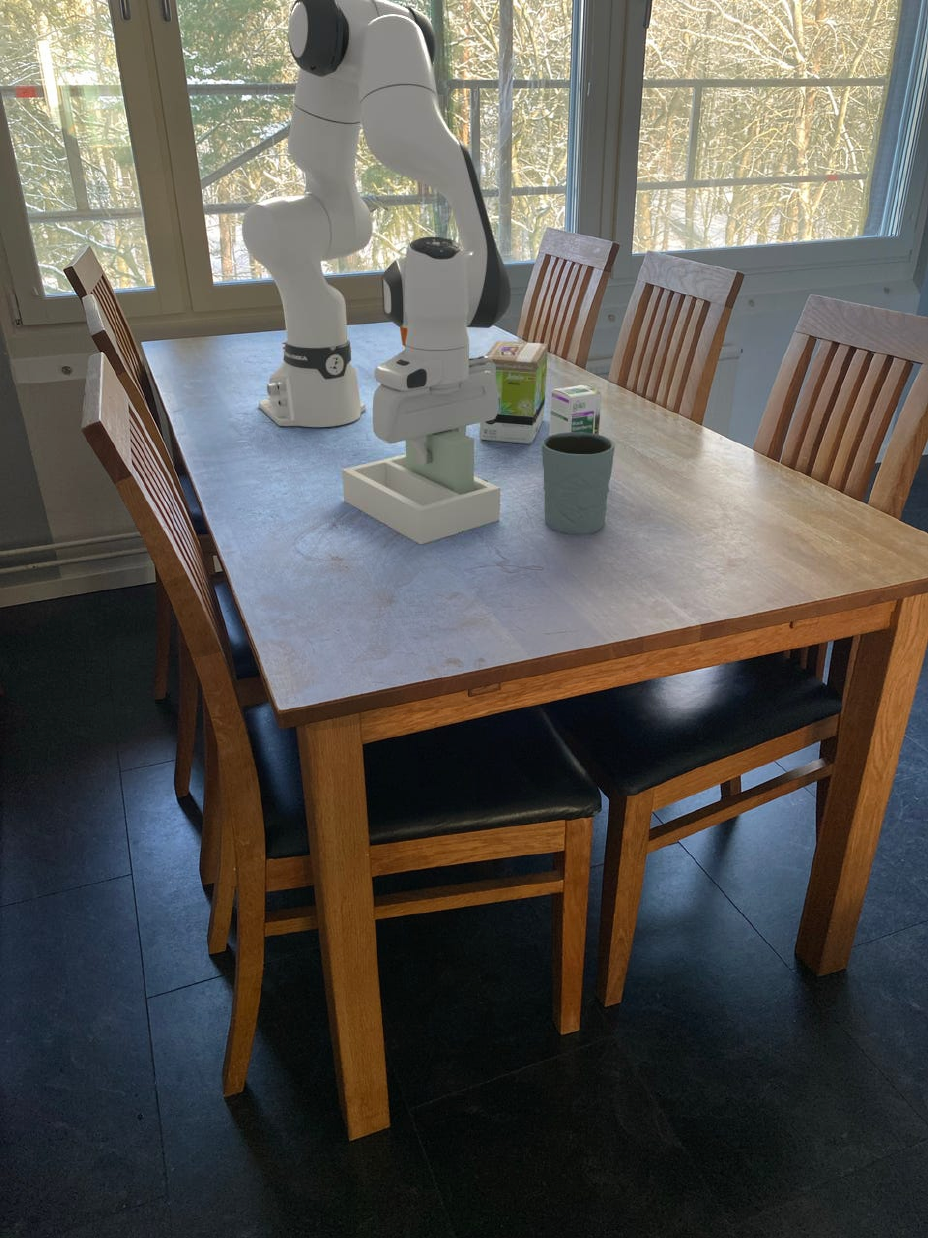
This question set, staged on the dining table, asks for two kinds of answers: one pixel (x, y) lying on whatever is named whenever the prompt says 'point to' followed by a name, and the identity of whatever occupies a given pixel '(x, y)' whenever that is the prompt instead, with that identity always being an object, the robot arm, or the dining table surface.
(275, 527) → the dining table surface
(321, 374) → the robot arm
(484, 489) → the divided cream tray
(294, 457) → the dining table surface
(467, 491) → the long pale green block
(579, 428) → the syrup box
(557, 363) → the dining table surface
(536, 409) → the tea box
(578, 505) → the gray green embossed cup
